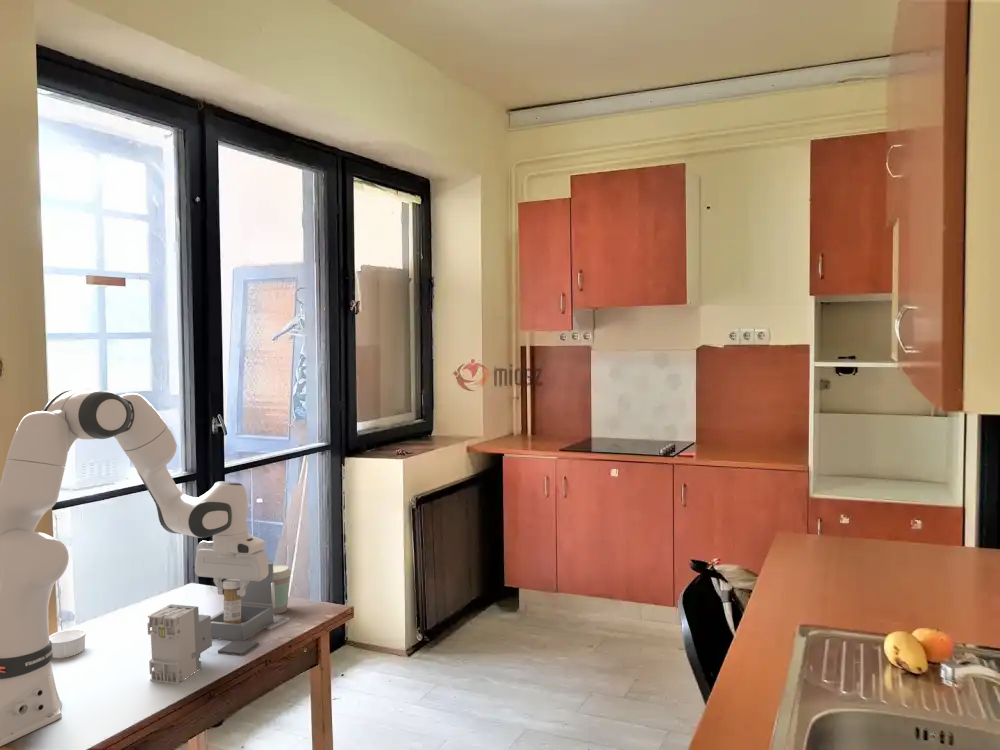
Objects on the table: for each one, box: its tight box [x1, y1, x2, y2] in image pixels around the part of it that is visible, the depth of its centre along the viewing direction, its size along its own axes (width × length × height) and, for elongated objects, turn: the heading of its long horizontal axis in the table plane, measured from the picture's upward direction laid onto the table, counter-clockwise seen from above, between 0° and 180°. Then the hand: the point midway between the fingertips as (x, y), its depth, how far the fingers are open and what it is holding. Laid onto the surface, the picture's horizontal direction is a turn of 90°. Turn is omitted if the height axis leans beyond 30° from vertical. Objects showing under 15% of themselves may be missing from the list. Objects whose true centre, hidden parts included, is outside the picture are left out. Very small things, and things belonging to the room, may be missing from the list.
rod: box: [266, 617, 290, 631], centre depth 214 cm, size 7×1×1 cm, turn 152°
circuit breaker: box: [147, 603, 213, 685], centre depth 187 cm, size 8×14×15 cm, turn 164°
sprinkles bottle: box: [222, 579, 242, 624], centre depth 209 cm, size 5×5×14 cm
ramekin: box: [49, 628, 87, 659], centre depth 199 cm, size 9×9×4 cm
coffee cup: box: [273, 564, 292, 615], centre depth 225 cm, size 8×8×12 cm
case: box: [211, 562, 275, 641], centre depth 212 cm, size 15×13×16 cm
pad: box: [217, 640, 260, 656], centre depth 199 cm, size 7×7×1 cm
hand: (231, 594), depth 209 cm, fingers closed on sprinkles bottle, 4 cm apart
